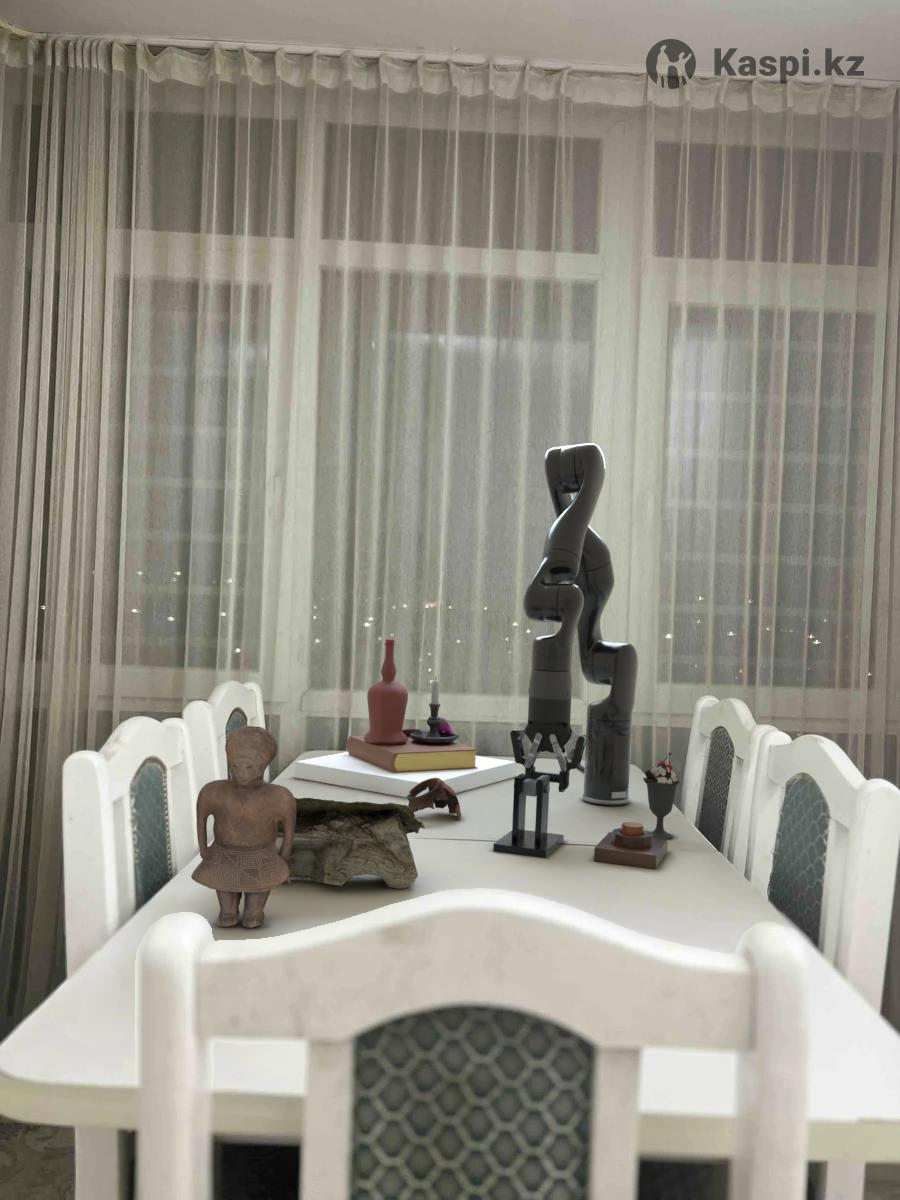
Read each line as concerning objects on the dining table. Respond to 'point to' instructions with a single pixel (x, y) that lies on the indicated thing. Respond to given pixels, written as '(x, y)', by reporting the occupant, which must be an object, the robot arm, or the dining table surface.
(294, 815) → the clay figurine
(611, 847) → the button block
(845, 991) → the dining table surface
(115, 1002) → the dining table surface
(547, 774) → the lever
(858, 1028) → the dining table surface
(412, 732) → the decorative still life
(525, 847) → the bracket
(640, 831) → the button
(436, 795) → the brown broken pot shard
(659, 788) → the sundae
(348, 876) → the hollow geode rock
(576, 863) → the dining table surface
